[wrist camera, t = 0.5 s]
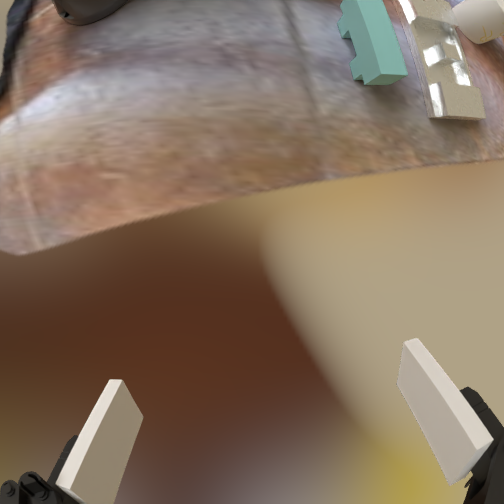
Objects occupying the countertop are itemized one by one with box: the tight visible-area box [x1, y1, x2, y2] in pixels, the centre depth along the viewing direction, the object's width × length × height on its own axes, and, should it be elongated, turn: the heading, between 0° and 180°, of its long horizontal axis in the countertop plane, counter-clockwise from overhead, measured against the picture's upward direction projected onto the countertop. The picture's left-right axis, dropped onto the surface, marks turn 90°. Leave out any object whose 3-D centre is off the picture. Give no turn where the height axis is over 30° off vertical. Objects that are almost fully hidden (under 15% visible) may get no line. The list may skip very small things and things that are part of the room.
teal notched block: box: [337, 0, 408, 85], centre depth 25 cm, size 12×4×8 cm, turn 11°
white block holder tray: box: [392, 0, 486, 120], centre depth 26 cm, size 20×10×4 cm, turn 11°
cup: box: [452, 0, 504, 44], centre depth 19 cm, size 8×8×12 cm
